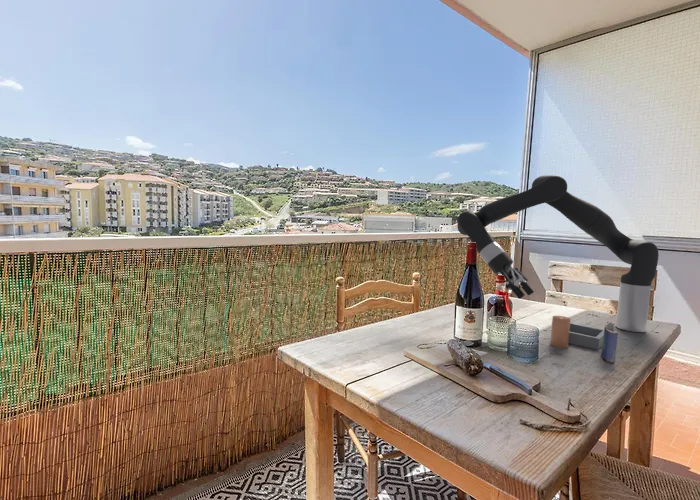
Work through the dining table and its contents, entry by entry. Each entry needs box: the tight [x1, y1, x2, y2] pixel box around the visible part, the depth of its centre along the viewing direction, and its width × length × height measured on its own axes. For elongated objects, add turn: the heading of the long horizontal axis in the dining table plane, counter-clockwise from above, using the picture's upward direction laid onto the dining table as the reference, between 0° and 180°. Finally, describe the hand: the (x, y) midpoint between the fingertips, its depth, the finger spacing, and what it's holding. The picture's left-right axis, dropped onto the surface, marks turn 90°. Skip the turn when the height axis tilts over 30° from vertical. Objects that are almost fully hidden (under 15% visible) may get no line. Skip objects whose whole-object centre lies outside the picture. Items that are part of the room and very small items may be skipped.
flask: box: [600, 321, 619, 364], centre depth 111 cm, size 9×3×11 cm, turn 152°
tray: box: [568, 322, 604, 351], centre depth 127 cm, size 13×13×4 cm
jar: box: [549, 315, 571, 349], centre depth 120 cm, size 5×5×9 cm
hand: (527, 295), depth 127 cm, fingers open, 8 cm apart
